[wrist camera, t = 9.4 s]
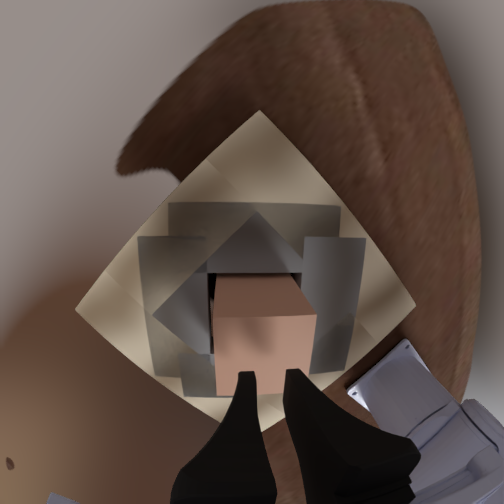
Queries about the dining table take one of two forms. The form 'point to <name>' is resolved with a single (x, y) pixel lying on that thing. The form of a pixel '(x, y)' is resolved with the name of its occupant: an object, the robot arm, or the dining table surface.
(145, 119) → the dining table surface
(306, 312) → the peg
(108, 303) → the socket board
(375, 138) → the dining table surface
